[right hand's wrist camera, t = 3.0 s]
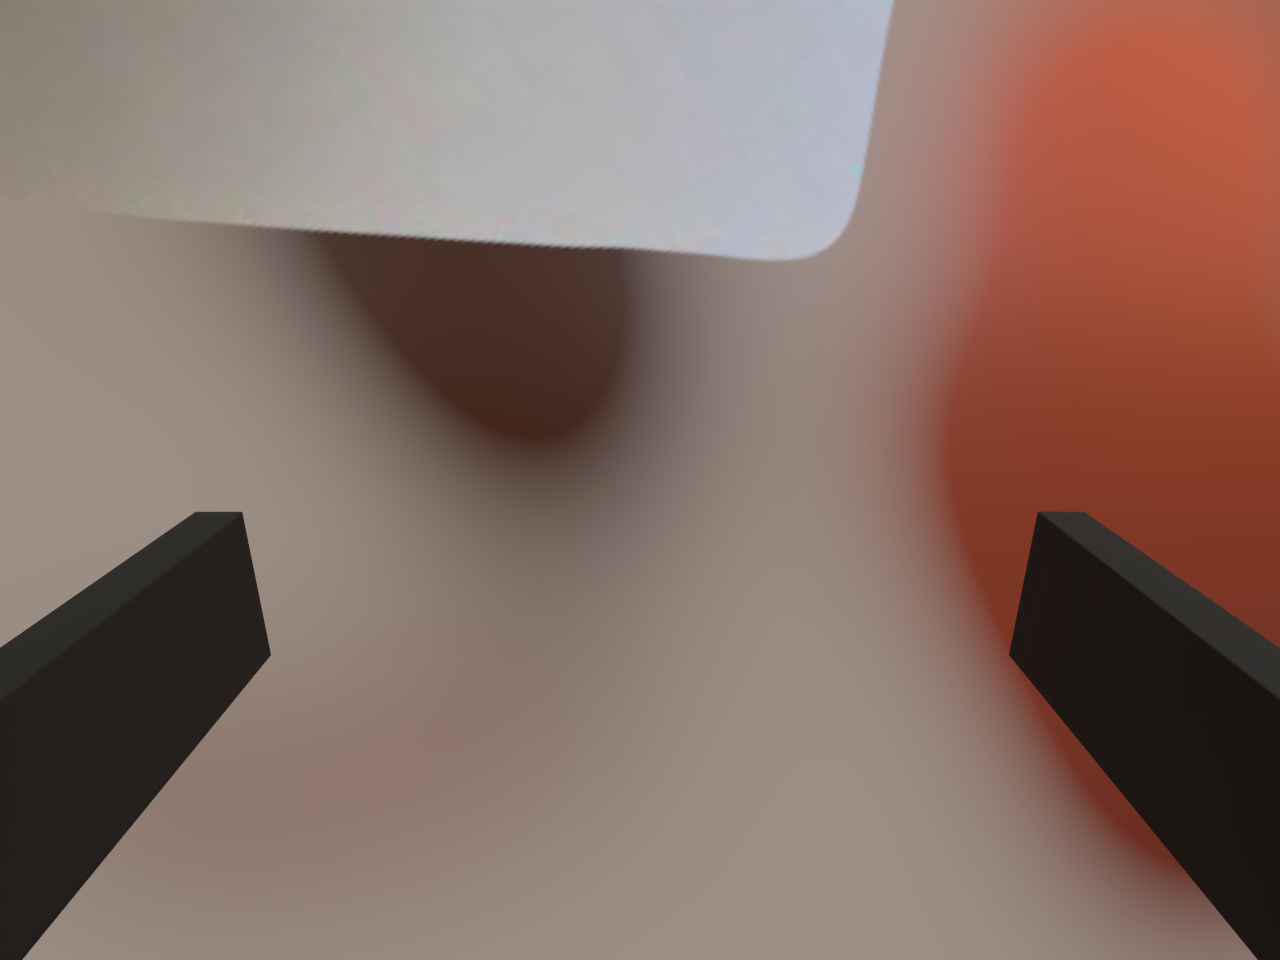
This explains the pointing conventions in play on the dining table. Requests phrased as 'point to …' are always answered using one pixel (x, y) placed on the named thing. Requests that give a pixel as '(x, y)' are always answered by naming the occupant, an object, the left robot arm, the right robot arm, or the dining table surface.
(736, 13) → the dining table surface
